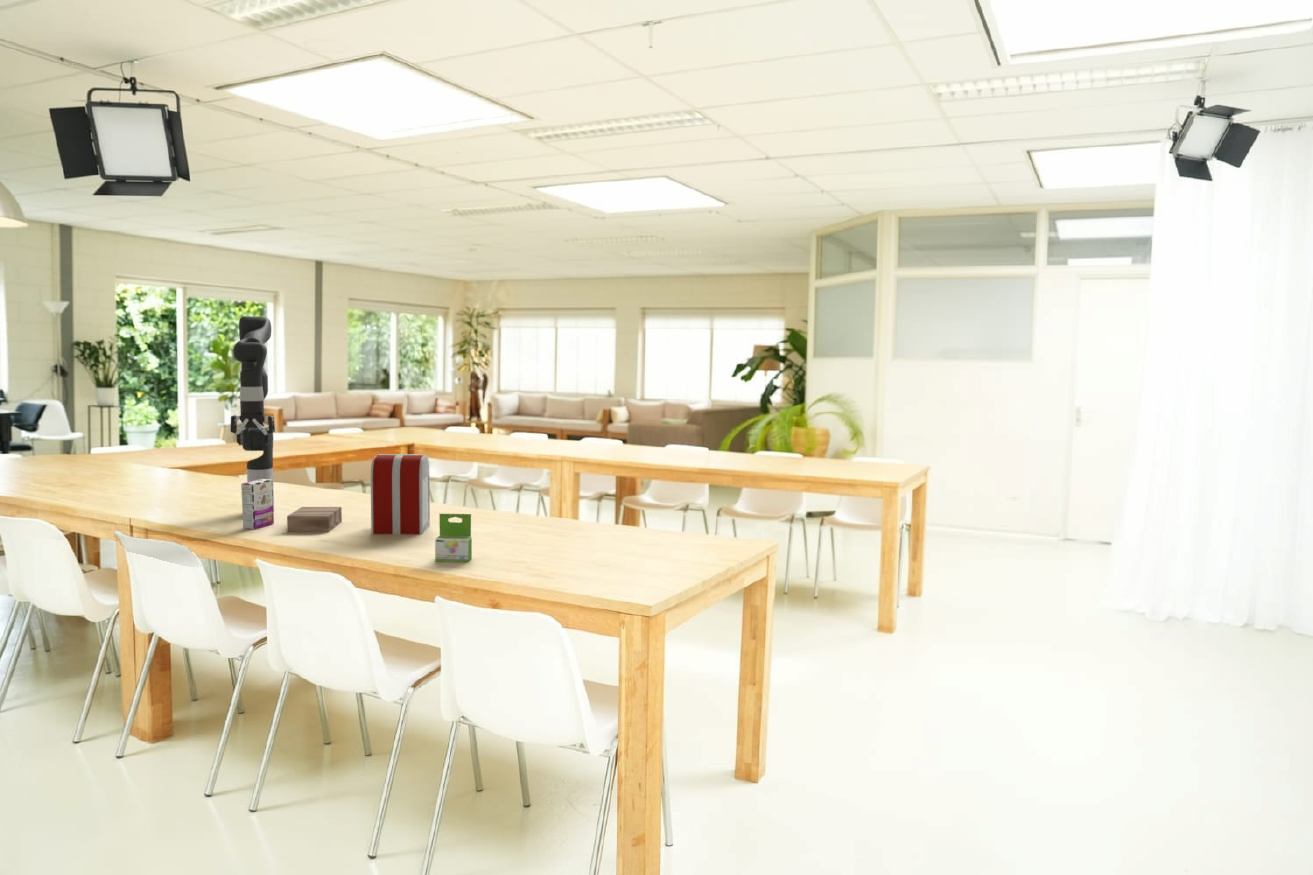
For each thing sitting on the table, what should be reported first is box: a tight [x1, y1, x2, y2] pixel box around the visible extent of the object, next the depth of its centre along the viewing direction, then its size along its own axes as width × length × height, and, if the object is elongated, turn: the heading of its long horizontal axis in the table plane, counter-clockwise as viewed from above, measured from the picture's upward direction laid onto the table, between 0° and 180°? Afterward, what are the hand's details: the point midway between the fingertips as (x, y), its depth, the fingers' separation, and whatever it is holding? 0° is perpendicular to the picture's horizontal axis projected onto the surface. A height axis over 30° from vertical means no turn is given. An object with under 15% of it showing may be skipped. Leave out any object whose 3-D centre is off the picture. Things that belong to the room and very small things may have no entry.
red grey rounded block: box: [370, 453, 431, 535], centre depth 309 cm, size 16×18×27 cm
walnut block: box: [286, 506, 343, 533], centre depth 312 cm, size 18×14×6 cm
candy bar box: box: [240, 479, 275, 530], centre depth 310 cm, size 11×5×16 cm, turn 168°
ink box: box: [434, 513, 473, 563], centre depth 267 cm, size 10×5×14 cm, turn 90°
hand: (253, 445), depth 307 cm, fingers open, 8 cm apart
